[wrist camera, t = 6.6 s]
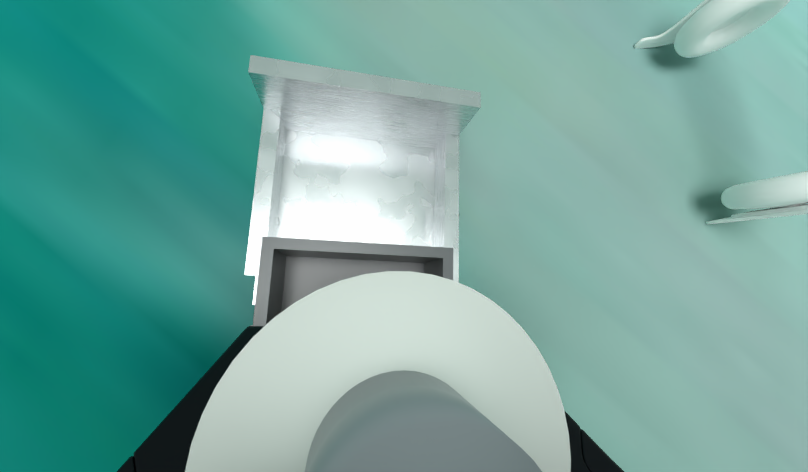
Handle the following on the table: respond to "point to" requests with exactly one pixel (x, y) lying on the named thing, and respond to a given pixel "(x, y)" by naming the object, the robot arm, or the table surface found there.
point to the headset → (710, 31)
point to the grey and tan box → (332, 267)
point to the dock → (356, 158)
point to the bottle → (386, 387)
